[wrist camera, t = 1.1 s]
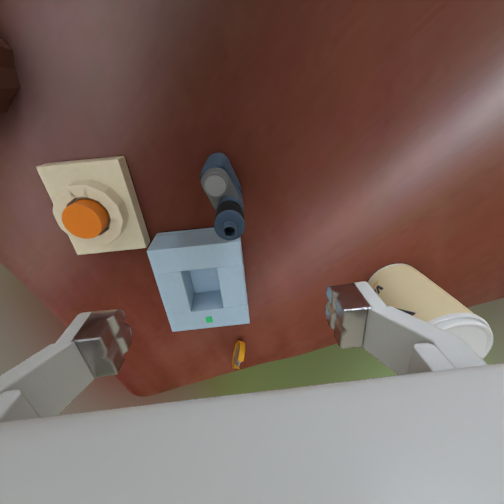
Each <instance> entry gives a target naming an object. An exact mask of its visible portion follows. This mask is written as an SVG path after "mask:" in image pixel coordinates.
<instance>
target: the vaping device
mask: <svg viewBox="0 0 504 504" xmlns="http://www.w3.org/2000/svg"><path fill="white" fill-rule="evenodd" d="M200 180H201V185H202V187H203V189H204V191H205V193H206V194H207V196H208V198H209V200H210V201H211V203H212V205H213V207H214V208H215V210H216V215H215V223H214V229H215V232H216V234H217V235H218V236H219V237H220V238H222V239H224V240H235V239H237V238H239V237H240V236H241V235H242V234H243V232H244V230H245V222H244V214H243V212H244V206H243V199H242V191H241V185H240V182H239V180H238V178H237V176H236V174H235V172H234V170H233V168H232V166H231V164H230V162H229V159H228V157H227V156H226V155H224V154H223V153H214V154H212V155H210V156H209V157H208V158H207V160H206V162H205V164H204V167H203V169H202V171H201V174H200Z"/></svg>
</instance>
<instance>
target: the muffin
mask: <svg viewBox="0 0 504 504" xmlns="http://www.w3.org/2000/svg"><path fill="white" fill-rule="evenodd" d="M19 88H20V86H19V82H18V79H17V76H16V72H15V68H14V61H13V53H12V50H11V48H10V47H9V46H8V45H7V44H6V43H5V41H4V40H3V39H2V38H1V37H0V114H1V113H4V112H7V110H8V107H9V105H10V102H11V99H12V98H13V96H14V95H15V94H16V92H17V91H18V90H19Z"/></svg>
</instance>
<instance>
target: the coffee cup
mask: <svg viewBox="0 0 504 504" xmlns="http://www.w3.org/2000/svg"><path fill="white" fill-rule="evenodd" d="M368 284H369V285H370V286H371V288H372V289H373V290H374V291H375V292H376V294H377V295H378V296H379V297H380V298H381V300H382V301H383V302H384V303H385V305H386V306H392V307H394V308H396V309H398V310H401V311H403V312H405V313H407V314H409V315H412V316H414V317H416V318H418V319H420V320H423V321H425V322H427V323H429V324H431V325H433V326H436V327H438V328H440V329H442V330H444V331H447V332H449V333H451V334H453V335H455V336H458V337H460V338H461V339H462V340H463V341H464V342H465V343H466V344H467V345H468V346H469V347H470V348H471V349H472V350H473V351H474V352H475V353H476V354H478V355H479V356H480V357H481V358H482V359H483V358H484V357H485V356H486V355H487V353H488V352H489V351H490V349H491V347H492V344H493V334H492V331H491V329H490V326H489V325H488V323H487V322H486V321H485V320H483V319H482V318H481V317H479V316H477V315H475V314H474V313H472V312H471V311H470V310H469V309H468V308H466V307H465V306H464V305H462V304H461V303H460V302H458V301H457V300H456V299H455V298H453V297H452V296H451V295H449V294H448V293H447V292H445V291H444V290H443V289H441V288H440V287H439V286H437V285H436V284H435V283H433V282H432V281H431V280H430V279H428V278H427V277H426V276H424V275H423V274H422V273H420V272H419V271H417V270H416V269H415V268H413V267H412V266H409V265H407V264H401V263H398V264H392V265H388V266H386V267H384V268H382V269H380V270H378V271H377V272H376V273H375V274H373V276H372V277H371V278H370V279H369V281H368Z"/></svg>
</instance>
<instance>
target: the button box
mask: <svg viewBox="0 0 504 504" xmlns="http://www.w3.org/2000/svg"><path fill="white" fill-rule="evenodd" d="M36 169H37V171H38V173H39V175H40V177H41V179H42V181H43V183H44V185H45V188H46V190H47V192H48V194H49V196H50V198H51V200H52V202H53V214H54V217H55V219H56V221H57V223H58V225H59V227H60V228H61V229H62V230H63V231H64V232H65V233H67V234H68V236H69V238H70V240H71V242H72V244H73V246H74V248H75V251H76V253H77V255H82V254H91V253H101V252H111V251H121V250H130V249H140V248H147V246H148V244H149V242H150V238H149V235H148V232H147V229H146V225H145V222H144V219H143V216H142V212H141V209H140V206H139V202H138V199H137V196H136V193H135V189H134V186H133V183H132V180H131V176H130V173H129V170H128V167H127V163H126V160H125V157H124V156H117V157H106V158H96V159H86V160H75V161H65V162H54V163H46V164H43V165H40V166H37V167H36ZM80 199H89V200H93V201H95V202H97V203H99V204H100V205H101V206H102V207H103V208H104V209H105V210H106V212H107V214H108V218H109V221H108V225H107V226H106V228H105V229H104V230H103V231H102V232H101V233H100V234H99V235H98V236H96V237H94V238H90V239H83V238H79V237H77V236H75V235H73V234H71V233H70V232H69V231H68V230H67V229H66V228H65V226H64V224H63V222H62V213H63V211H64V209H65V208H66V207H68V206H69V205H71V204H72V203H74V202H76V201H77V200H80Z"/></svg>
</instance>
